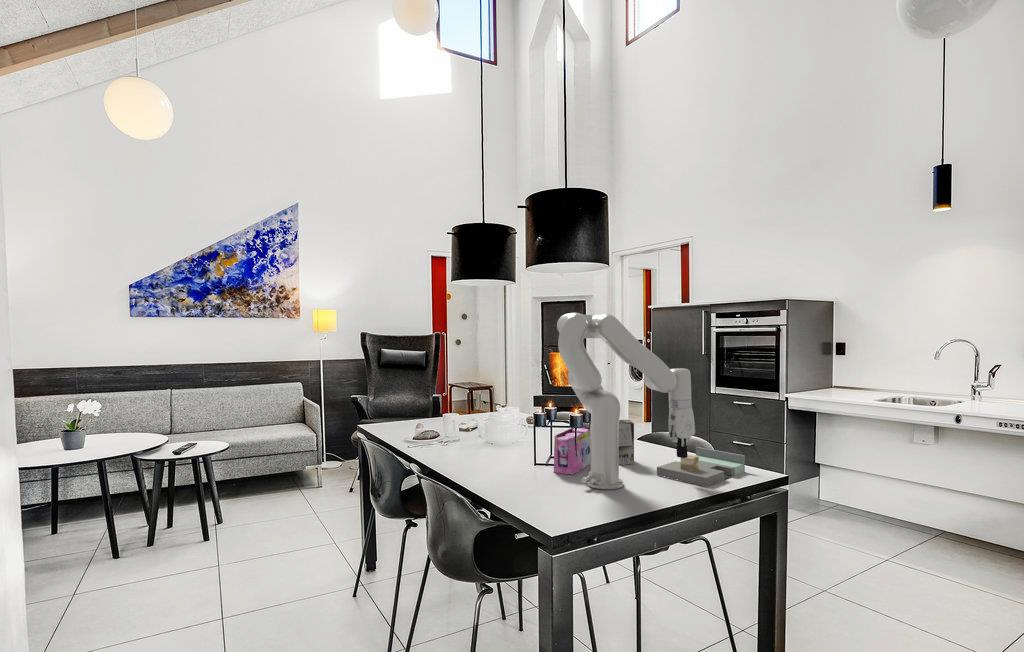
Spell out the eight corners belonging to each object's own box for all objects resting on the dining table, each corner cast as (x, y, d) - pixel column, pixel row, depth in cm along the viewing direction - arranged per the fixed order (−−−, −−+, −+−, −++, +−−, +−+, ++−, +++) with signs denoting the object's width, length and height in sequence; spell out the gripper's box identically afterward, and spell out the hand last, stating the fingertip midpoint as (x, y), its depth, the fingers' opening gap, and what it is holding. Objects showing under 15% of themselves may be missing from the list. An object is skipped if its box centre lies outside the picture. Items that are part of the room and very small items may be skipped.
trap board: (706, 486, 177) (706, 468, 177) (656, 475, 191) (656, 458, 191) (744, 471, 196) (744, 455, 196) (696, 462, 210) (696, 446, 210)
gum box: (571, 476, 190) (571, 438, 190) (551, 473, 194) (551, 436, 194) (594, 461, 212) (593, 427, 212) (575, 459, 215) (575, 425, 215)
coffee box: (634, 465, 206) (634, 423, 206) (618, 464, 206) (617, 423, 206) (630, 459, 215) (629, 419, 215) (614, 459, 215) (613, 419, 215)
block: (692, 471, 185) (692, 458, 185) (680, 469, 188) (680, 456, 188) (698, 469, 188) (698, 456, 188) (687, 466, 191) (687, 454, 191)
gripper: (678, 407, 176) (680, 463, 176) (701, 402, 186) (703, 454, 186) (658, 405, 182) (660, 459, 182) (681, 400, 192) (683, 451, 192)
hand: (682, 457), depth 184 cm, fingers closed
